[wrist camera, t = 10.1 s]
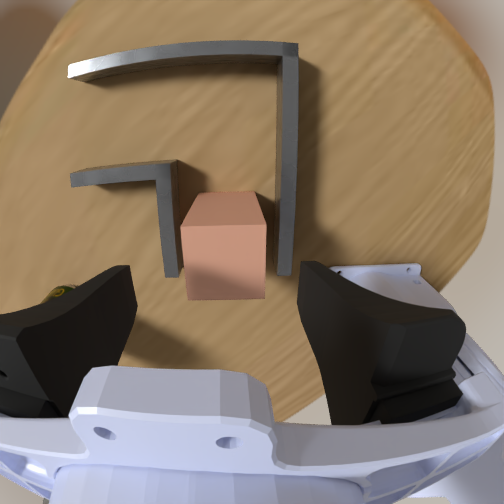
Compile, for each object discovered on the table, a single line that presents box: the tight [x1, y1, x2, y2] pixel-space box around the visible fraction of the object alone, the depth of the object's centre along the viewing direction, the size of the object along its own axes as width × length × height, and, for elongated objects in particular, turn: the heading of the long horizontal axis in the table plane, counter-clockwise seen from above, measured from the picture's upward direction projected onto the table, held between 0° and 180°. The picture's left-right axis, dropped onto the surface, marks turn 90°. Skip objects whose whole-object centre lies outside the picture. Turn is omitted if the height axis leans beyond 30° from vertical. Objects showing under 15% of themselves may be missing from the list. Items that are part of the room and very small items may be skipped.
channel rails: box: [68, 41, 299, 278], centre depth 19 cm, size 16×16×2 cm
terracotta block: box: [181, 191, 266, 300], centre depth 18 cm, size 4×4×8 cm
